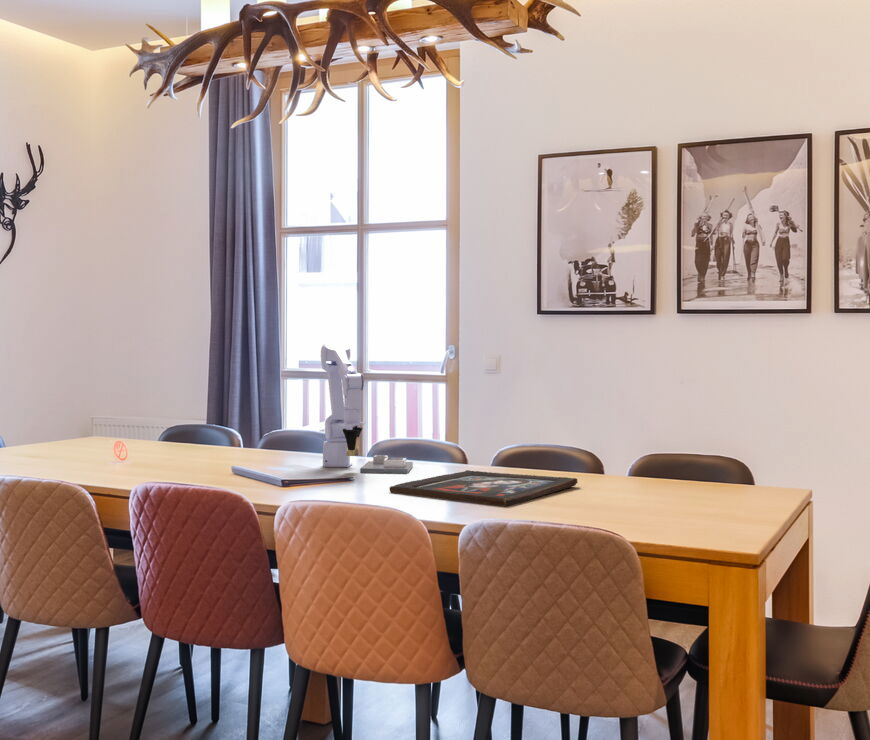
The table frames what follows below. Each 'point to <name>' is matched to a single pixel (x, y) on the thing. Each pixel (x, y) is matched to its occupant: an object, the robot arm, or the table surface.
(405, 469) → the socket plate
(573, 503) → the table surface
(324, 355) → the robot arm
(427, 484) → the religious icon
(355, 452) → the pipe stub
